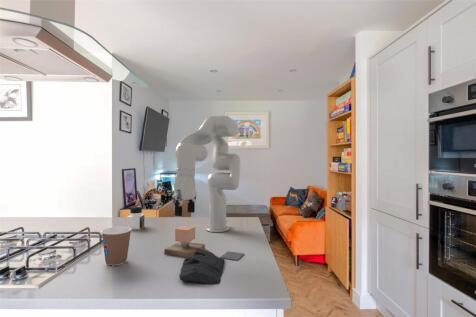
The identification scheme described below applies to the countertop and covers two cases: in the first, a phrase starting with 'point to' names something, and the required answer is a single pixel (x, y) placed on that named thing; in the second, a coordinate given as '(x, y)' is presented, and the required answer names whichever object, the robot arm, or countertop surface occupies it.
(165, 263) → the countertop surface
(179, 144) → the robot arm
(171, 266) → the countertop surface
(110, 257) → the coffee cup
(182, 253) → the square brown stand
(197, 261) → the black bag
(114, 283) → the countertop surface
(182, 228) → the peach colored cube
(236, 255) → the mat
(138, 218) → the medicine bottle
